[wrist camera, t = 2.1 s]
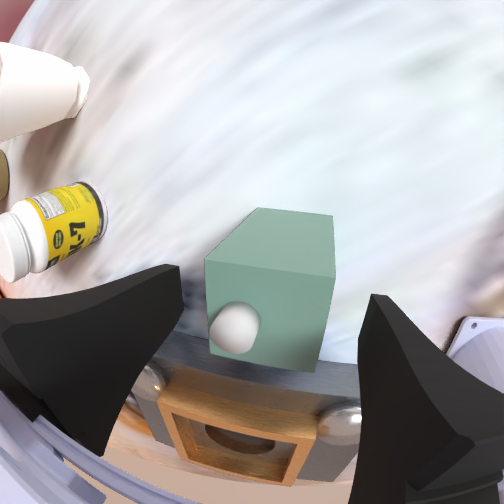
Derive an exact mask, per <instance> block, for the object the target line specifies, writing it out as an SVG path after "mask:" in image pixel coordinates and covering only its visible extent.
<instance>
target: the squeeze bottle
mask: <svg viewBox="0 0 504 504" xmlns="http://www.w3.org/2000/svg"><path fill="white" fill-rule="evenodd" d="M8 183H9V177H8V166H7V161H6V158H5V154H4V153H3V151H2V150H0V201H1V200H2V199H3V198H4V197H6V194H7V191H8Z"/></svg>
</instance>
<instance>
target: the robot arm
mask: <svg viewBox="0 0 504 504" xmlns="http://www.w3.org/2000/svg"><path fill="white" fill-rule="evenodd" d="M183 310H184V308H183V299H182V290H181V281H180V270H179V266H175V265H169V264H163V265H159V266H155V267H152V268H149V269H146V270H143V271H140V272H138V273H135V274H132V275H129V276H127V277H124V278H121V279H118V280H115V281H112V282H109V283H106V284H103V285H100V286H97V287H94V288H90V289H86V290H82V291H78V292H74V293H69V294H63V295H57V296H51V297H42V298H28V299H11V298H0V504H103V503H104V501H105V500H106V495H105V494H103V493H102V492H100V491H99V490H97V489H96V488H95V487H93V486H92V485H91V484H89V483H88V482H87V481H85V480H84V479H83V478H82V477H80V476H79V475H78V474H77V473H76V472H75V471H74V470H72V469H71V468H70V467H68V466H67V465H66V464H65V463H64V460H63V457H64V458H65V459H67V460H68V461H69V462H71V463H72V464H73V465H75V466H76V467H78V468H79V469H80V470H82V471H83V472H85V473H86V474H88V475H89V476H91V477H92V478H94V479H96V480H97V481H99V482H100V483H102V484H104V485H105V486H107V487H109V488H110V489H112V490H114V491H116V492H117V493H119V494H121V495H123V496H125V497H127V498H128V499H130V500H132V501H134V502H136V503H138V504H201V503H198V502H195V501H192V500H189V499H186V498H183V497H181V496H178V495H175V494H173V493H170V492H168V491H165V490H163V489H161V488H158V487H156V486H154V485H151V484H149V483H147V482H145V481H143V480H141V479H139V478H137V477H135V476H133V475H131V474H129V473H127V472H125V471H123V470H121V469H119V468H117V467H116V466H114V465H112V464H110V463H109V462H107V461H105V460H103V459H102V458H100V457H101V456H103V455H104V452H105V448H106V445H107V443H108V440H109V437H110V434H111V431H112V429H113V426H114V424H115V422H116V420H117V417H118V415H119V413H120V410H121V408H122V406H123V404H124V402H125V400H126V398H127V396H128V394H129V392H130V391H131V389H132V387H133V385H134V384H135V382H136V380H137V378H138V376H139V375H140V373H141V372H142V370H143V369H144V367H145V366H146V365H147V363H148V362H149V361H150V359H151V358H152V357H153V355H154V354H155V353H156V352H157V350H158V349H159V348H160V346H161V345H162V344H163V342H164V341H165V340H166V338H167V337H168V336H169V334H170V333H171V332H172V330H173V329H174V327H175V325H176V323H177V322H178V320H179V318H180V316H181V314H182V312H183ZM473 323H474V324H473ZM472 324H473V325H472ZM357 363H358V375H359V387H360V400H361V431H360V442H359V450H358V457H357V464H356V470H355V475H354V480H353V485H352V490H351V494H350V498H349V502H348V504H504V318H488V317H472V316H469V317H466V318H465V319H464V320H463V321H462V323H461V325H460V327H459V329H458V331H457V333H456V336H455V338H454V340H453V342H452V344H451V346H450V348H449V349H448V351H447V353H446V354H445V353H443V352H442V351H441V350H440V349H439V348H438V347H437V346H436V345H435V344H434V343H433V342H431V341H430V340H429V339H428V338H427V337H426V336H425V335H424V334H423V333H422V332H421V331H420V330H419V329H418V327H417V326H416V325H415V324H414V323H413V322H412V321H411V320H410V319H409V318H408V317H407V316H406V315H405V313H404V312H403V311H402V310H401V309H400V308H399V307H398V306H397V305H396V304H395V303H394V302H393V301H392V300H391V299H390V298H389V297H388V296H387V295H378V294H371V296H370V300H369V304H368V307H367V311H366V314H365V318H364V321H363V325H362V328H361V331H360V334H359V337H358V359H357ZM62 456H63V457H62Z"/></svg>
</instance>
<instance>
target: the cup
mask: <svg viewBox="0 0 504 504" xmlns="http://www.w3.org/2000/svg"><path fill="white" fill-rule="evenodd" d="M89 80H90V79H89V77H88V75H87V74H86V72H85V71H84V69H83V67H80V66H78V67H75V68H73V66H72V65H71V64H70V63H68V62H66V61H64V60H62V59H60V58H58V57H56V56H54V55H51V54H47V53H44V52H40V51H36V50H32V49H28V48H25V47H21V46H17V45H13V44H9V43H4V42H0V143H1V142H4V141H6V140H9V139H11V138H14V137H16V136H19V135H22V134H25V133H28V132H31V131H34V130H38V129H41V128H44V127H46V126H48V125H51V124H53V123H55V122H58V121H60V120H63V119H66V118H74V117H76V116H77V114H78V113H79V111H80V110H81V108H82V107H83V105H84V104H85V102H86V101H87V94H88V86H89Z"/></svg>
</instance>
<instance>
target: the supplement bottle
mask: <svg viewBox="0 0 504 504" xmlns="http://www.w3.org/2000/svg"><path fill="white" fill-rule="evenodd" d="M106 225H107V208H106V204H105V201H104V199H103V196H102V195H101V193H100V191H99V190H98V189H97V188H96V187H95V186H94V185H92V184H91V183H89V182H86V181H80V182H76V183H73V184H69V185H66V186H63V187H59V188H56V189H53V190H50V191H47V192H43V193H41V194H38V195H35V196H32V197H29V198H26V199H23V200H21V201H19V202H17V203H16V204H15V205H14V206H13V207H12V209H11V211H10V212H6V213H3V214H1V215H0V274H1V276H2V277H3V278H4V279H5V280H6V281H7V282H8V283H13V282H15V281H17V280H19V279H21V278H23V277H25V276H26V275H27V274H28V273H29V272H31V273H40V272H43V271H44V270H47V269H48V268H50V267H51V266H53V265H55V264H56V263H58V262H60V261H61V260H63V259H65V258H67V257H68V256H70V255H72V254H74V253H75V252H77V251H79V250H81V249H82V248H84V247H86V246H88V245H90V244H92V243H93V242H95V241H97V240H98V239H100V238H101V237H102V235H103V234H104V232H105V229H106Z"/></svg>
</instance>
